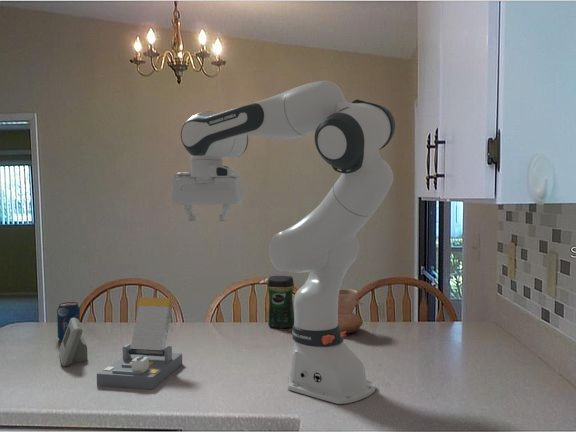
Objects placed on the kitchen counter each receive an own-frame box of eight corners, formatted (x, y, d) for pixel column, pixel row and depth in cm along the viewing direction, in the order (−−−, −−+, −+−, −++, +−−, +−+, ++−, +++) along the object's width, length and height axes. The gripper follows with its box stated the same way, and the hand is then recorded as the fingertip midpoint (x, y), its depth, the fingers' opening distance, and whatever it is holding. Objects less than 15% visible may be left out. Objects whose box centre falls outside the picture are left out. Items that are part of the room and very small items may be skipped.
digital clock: (60, 351, 144) (59, 317, 144) (91, 348, 147) (91, 315, 146) (50, 369, 128) (49, 331, 128) (85, 366, 131) (84, 328, 131)
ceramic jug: (367, 327, 167) (366, 288, 167) (361, 338, 154) (360, 295, 154) (319, 325, 173) (318, 286, 173) (308, 335, 159) (307, 293, 159)
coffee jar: (296, 324, 173) (296, 274, 173) (291, 329, 166) (290, 277, 165) (271, 322, 176) (271, 273, 175) (265, 328, 168) (264, 277, 168)
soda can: (65, 343, 152) (64, 307, 152) (53, 340, 156) (52, 304, 155) (84, 337, 158) (84, 302, 158) (72, 335, 162) (71, 300, 161)
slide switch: (137, 368, 120) (137, 354, 120) (148, 368, 119) (148, 355, 119) (132, 372, 117) (131, 358, 117) (143, 373, 116) (142, 359, 116)
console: (133, 361, 134) (133, 338, 134) (182, 363, 132) (181, 341, 131) (96, 385, 117) (96, 359, 116) (152, 389, 114) (152, 363, 114)
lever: (132, 355, 129) (142, 299, 135) (165, 356, 127) (175, 300, 133) (127, 353, 126) (138, 297, 132) (161, 355, 124) (171, 298, 131)
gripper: (167, 171, 129) (168, 221, 130) (236, 169, 124) (237, 221, 125) (178, 173, 135) (178, 220, 136) (244, 171, 130) (245, 220, 131)
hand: (207, 221), depth 130 cm, fingers open, 8 cm apart
